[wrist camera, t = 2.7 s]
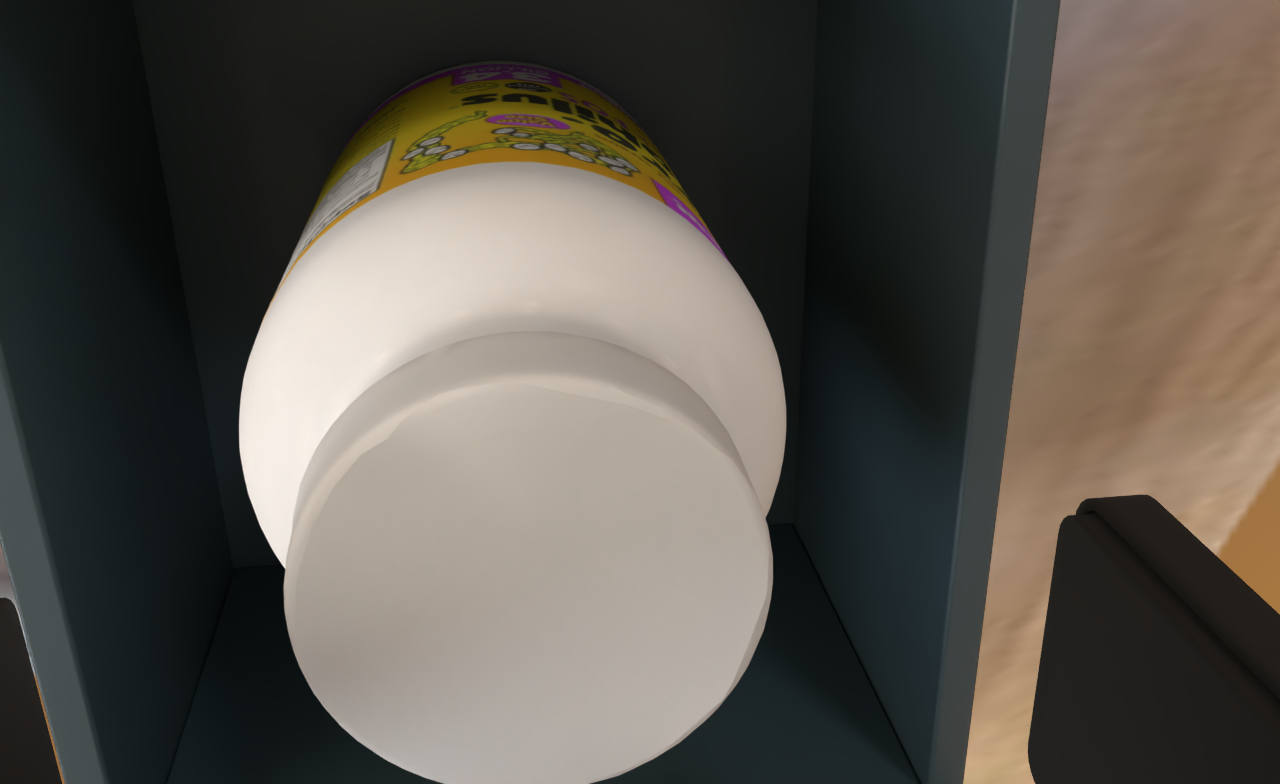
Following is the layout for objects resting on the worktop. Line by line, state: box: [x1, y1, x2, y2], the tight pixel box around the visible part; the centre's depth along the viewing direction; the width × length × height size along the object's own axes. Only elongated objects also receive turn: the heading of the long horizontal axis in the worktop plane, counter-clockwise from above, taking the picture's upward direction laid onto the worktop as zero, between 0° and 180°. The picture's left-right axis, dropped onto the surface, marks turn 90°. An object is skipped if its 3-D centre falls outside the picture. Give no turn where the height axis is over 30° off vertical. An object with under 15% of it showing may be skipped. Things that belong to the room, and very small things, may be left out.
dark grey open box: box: [0, 0, 1060, 784], centre depth 19 cm, size 15×13×9 cm
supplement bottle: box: [239, 61, 786, 784], centre depth 17 cm, size 7×7×13 cm
